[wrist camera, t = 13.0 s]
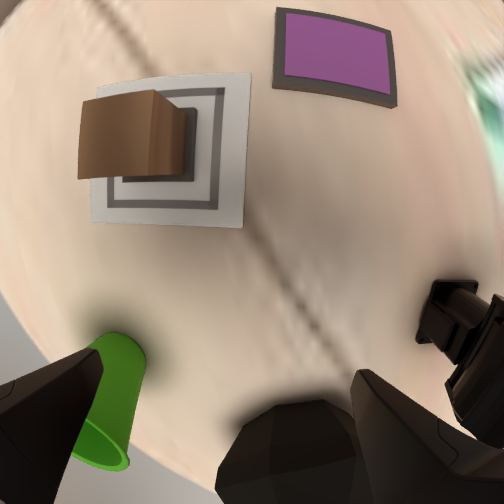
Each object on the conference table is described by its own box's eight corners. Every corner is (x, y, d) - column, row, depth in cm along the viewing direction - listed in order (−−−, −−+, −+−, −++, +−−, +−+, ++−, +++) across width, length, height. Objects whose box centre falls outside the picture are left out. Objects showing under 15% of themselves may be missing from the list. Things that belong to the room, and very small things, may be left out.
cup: (80, 300, 21) (6, 368, 10) (170, 329, 21) (121, 430, 11) (88, 369, 23) (41, 438, 13) (164, 397, 24) (134, 483, 13)
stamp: (197, 110, 16) (166, 78, 10) (193, 181, 18) (158, 186, 11) (131, 115, 16) (77, 94, 10) (128, 181, 18) (70, 190, 11)
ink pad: (385, 35, 14) (391, 29, 13) (391, 108, 16) (398, 105, 15) (275, 13, 14) (276, 5, 13) (272, 88, 16) (273, 83, 15)
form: (251, 74, 16) (251, 72, 15) (242, 227, 19) (242, 228, 18) (99, 88, 16) (97, 87, 15) (93, 222, 19) (90, 223, 18)
